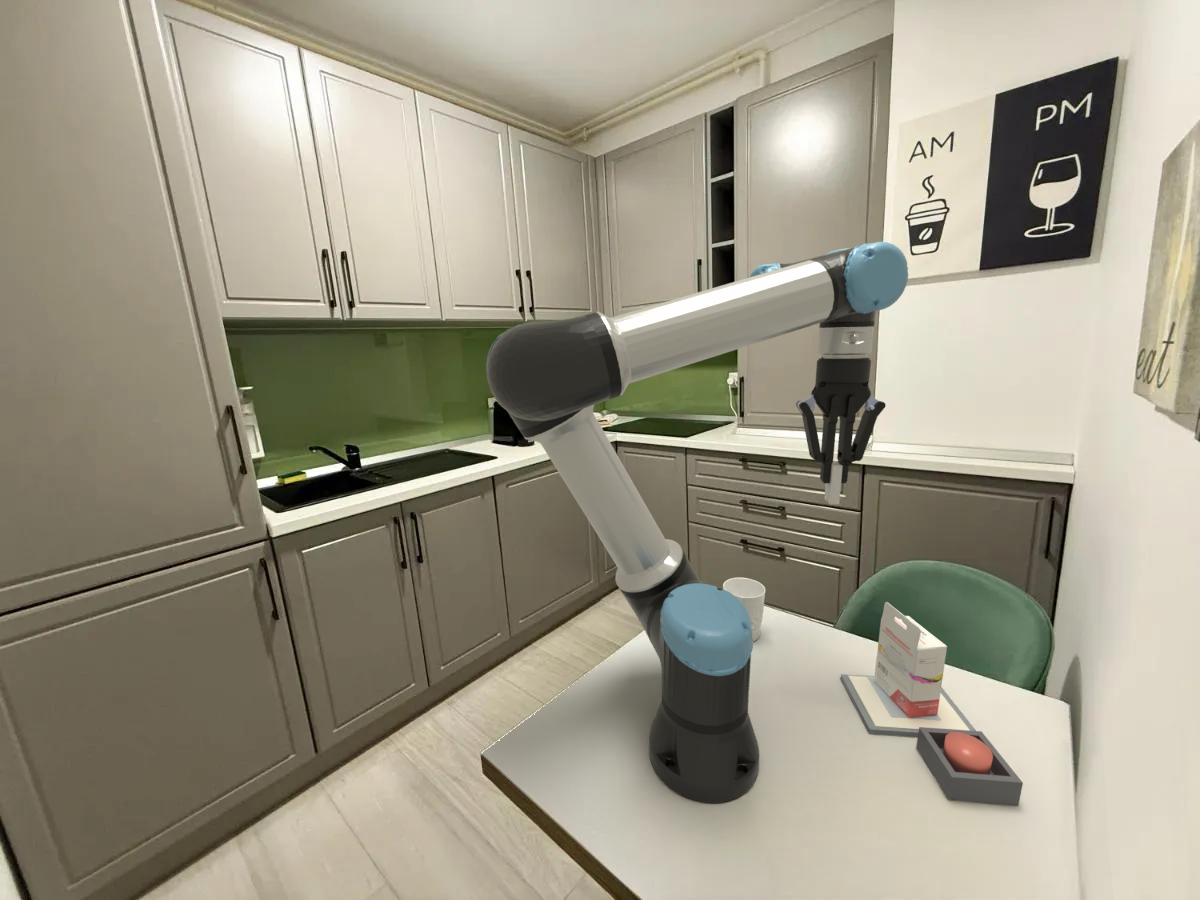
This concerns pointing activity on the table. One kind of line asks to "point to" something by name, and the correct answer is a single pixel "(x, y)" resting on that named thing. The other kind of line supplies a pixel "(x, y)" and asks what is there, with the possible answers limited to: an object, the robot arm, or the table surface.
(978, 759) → the button
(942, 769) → the button housing
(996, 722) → the table surface
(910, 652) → the ink cartridge box
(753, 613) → the white cup
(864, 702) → the board
